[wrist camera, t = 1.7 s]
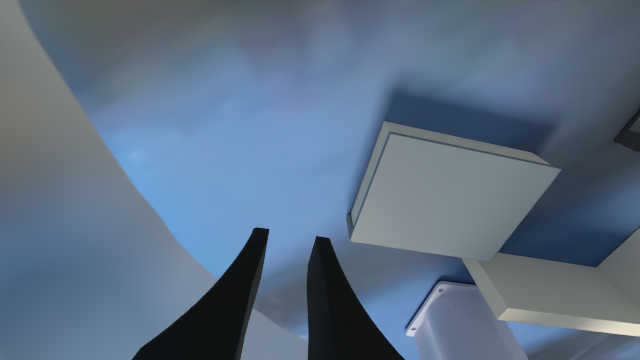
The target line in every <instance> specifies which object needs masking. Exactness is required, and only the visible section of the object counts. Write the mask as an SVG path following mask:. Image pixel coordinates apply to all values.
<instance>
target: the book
mask: <svg viewBox="0 0 640 360" xmlns="http://www.w3.org/2000/svg"><path fill="white" fill-rule="evenodd" d="M561 170H562V169H561V168H559V167H558V166H553V165H550V164H549V163H547V162H546V161H544V160H543V159H541V158H540V157H538V156H537V155H535V154H534V153H532V152H527V151H522V150H517V149H513V148H508V147H503V146H499V145H494V144H489V143H485V142H480V141H475V140H470V139H466V138H461V137H456V136H452V135H447V134H442V133H438V132H433V131H428V130H423V129H419V128H414V127H409V126H405V125H400V124H395V123H391V122H386V121H384V122H383V125H382V128H381V131H380V134H379V136H378V139H377V142H376V145H375V148H374V150H373V153H372V156H371V159H370V162H369V164H368V167H367V170H366V173H365V175H364V178H363V181H362V184H361V187H360V189H359V192H358V195H357V198H356V201H355V203H354V206H353V209H352V212H351V214H348V216H347V219H346V220H347V226H348V233H349V239H350V241H353V242H359V243H366V244H373V245H380V246H386V247H393V248H400V249H406V250H413V251H420V252H426V253H433V254H440V255H447V256H453V257H460V258H467V259H473V260H480V261H487V262H490V261H491V260H492V258H493V257H494V256H495V254H496V253H497V252H498V251H499V249H500V248H501V247H502V245H503V244H504V243H505V242H506V240H507V239H508V238H509V237H510V235H511V234H512V233H513V231H514V230H515V229H516V228H517V226H518V225H519V224H520V222H521V221H522V220H523V219H524V217H525V216H526V215H527V213H528V212H529V211H530V210H531V208H532V207H533V206H534V205H535V203H536V202H537V201H538V199H539V198H540V197H541V196H542V194H543V193H544V192H545V190H546V189H547V188H548V187H549V185H550V184H551V183H552V181H553V180H554V179H555V178H556V176H557V175H558V174H559V173H560V171H561Z"/></svg>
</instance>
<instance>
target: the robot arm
mask: <svg viewBox="0 0 640 360" xmlns="http://www.w3.org/2000/svg"><path fill="white" fill-rule="evenodd" d="M268 234H269V229H264V228H257V227H256V228H254V229H253V232H252V234H251V236H250V238H249V239H248V241H247V243H246V244H245V246H244V248H243V249H242V251H241V252H240V253H239V255H238V256H237V258H236V259H235V260H234V262H233V263H232V264H231V266H230V267H229V268H228V269H227V271H226V272H225V273H224V274H223V275H222V277H221V278H220V279H219V280H218V281H217V282H216V283H215V285H214V286H213V287H212V288H211V289H210V290H209V291H208V292H207V293H206V294H205V295H204V296H203V297H202V298H201V299H200V300H199V301H198V302H197V303H196V304H195V305H194V306H192V307H191V308H190V309H189V310H188V311H187V312H186V313H185V314H184V315H182V316H181V317H180V318H179V319H178V320H176V321H175V322H174V323H173V324H172V325H170V326H169V327H168V328H167V329H165V330H164V331H163V332H162V333H160V334H159V335H158V336H156V337H155V338H154V339H152V340H151V341H150V342H148V343H147V344H146V345H144V346H143V347H142V348H140V350H139V351H138V352H137V354H136V355H135V356H134V358H133V359H132V360H240V358H241V353H242V348H243V343H244V338H245V333H246V329H247V325H248V322H249V318H250V315H251V311H252V308H253V304H254V301H255V297H256V294H257V290H258V287H259V283H260V280H261V274H262V269H263V264H264V258H265V252H266V246H267V240H268ZM307 305H308V328H309V344H308V360H405V359H404V358H403V357H402V356H401V355H400V354H399V353H398V352H397V351H396V350H395V348H394V347H393V346H392V345H391V344H390V343H389V341H388V340H387V339H386V338H385V336H384V335H383V334H382V333H381V331H380V330H379V329H378V327H377V326H376V325H375V324H374V322H373V321H372V320H371V318H370V317H369V315H368V314H367V312H366V311H365V309H364V308H363V306H362V305H361V303H360V302H359V300H358V298H357V297H356V295H355V293H354V292H353V290H352V288H351V286H350V284H349V282H348V280H347V279H346V277H345V274H344V272H343V270H342V268H341V266H340V264H339V262H338V259H337V257H336V254H335V252H334V249H333V247H332V244H331V241H330V239H329V238H325V237H318V236H316V239H315V243H314V246H313V250H312V253H311V257H310V260H309V264H308V273H307ZM405 333H406V335H407V336H413V337H414V340H415V343H416V347H417V350H418V353H419V357H420V360H528V358H527V356H526V355H525V353H524V351H523V350H522V348H521V346H520V345H519V343H518V341H517V340H516V338H515V337H514V335H513V333H512V332H511V330H510V328H509V327H508V325H507V323H506V322H505V321H504V320H497V319H496V317H495V315H494V314H493V312H492V310H491V308H490V307H489V305H488V303H487V302H486V300H485V298H484V296H483V295H482V293H481V291H480V290H479V288H478V286H477V285H470V284H462V283H455V282H447V281H440V282H438V283H437V284H436V286H435V287H434V289H433V290H432V292H431V293H430V295H429V296H428V298H427V299H426V301H425V302H424V304H423V305H422V307H421V308H420V310H419V311H418V312H417V314H416V315H415V317H414V318H413V320H412V321H411V323H410V324H409V326H408V327H407V329H406V330H405Z"/></svg>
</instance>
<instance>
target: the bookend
mask: <svg viewBox="0 0 640 360" xmlns="http://www.w3.org/2000/svg"><path fill="white" fill-rule="evenodd" d="M614 141H615V142H617V143H620V144H622V145H624V146H626V147H628V148H631V149H633V150H635V151H637V152H639V153H640V110H639V112H638V113H637V114H636V115H635V116H634V118H633V119H632V120H631V121H630V122H629V124H628V125H627V126H626V127H625V128H624V129H623V131H622V132H621V133H620V134H619V135H618V137H617V138H616V139H615V140H614Z"/></svg>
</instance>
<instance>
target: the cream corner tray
mask: <svg viewBox="0 0 640 360" xmlns="http://www.w3.org/2000/svg"><path fill="white" fill-rule="evenodd" d="M462 261H463V262H464V264H465V266H466V267H467V269H468V271H469V273H470V274H471V276H472V278H473V279H474V281H475V283H476V285H477V286H478V288H479V290H480V291H481V293H482V295H483V296H484V298H485V300H486V302H487V303H488V305H489V307H490V308H491V310H492V312H493V314H494V315H495V317H496V319H497V320H504V321H512V322H521V323H530V324H538V325H547V326H555V327H564V328H572V329H581V330H589V331H598V332H606V333H615V334H623V335H632V336H640V228H639V229H637V230H636V231H635V232H634V233H633V234H632V235H631V236H630V237H629V238H628V239H627V240H626V241H624V242H623V243H622V244H621V245H620V246H619V247H618V248H617V249H616V250H615V251H614V252H612V253H611V254H610V255H609V256H608V257H607V258H606V259H605V260H604V261H603V262H602V263H600V264H599V265H598V266H597V267H590V266H583V265H577V264H570V263H563V262H557V261H550V260H544V259H537V258H531V257H524V256H518V255H511V254H505V253H498V252H497V253H496V254H495V256H494V257H493V258H492V260H491V261H490V262H487V261H480V260H473V259H467V258H462Z"/></svg>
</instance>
